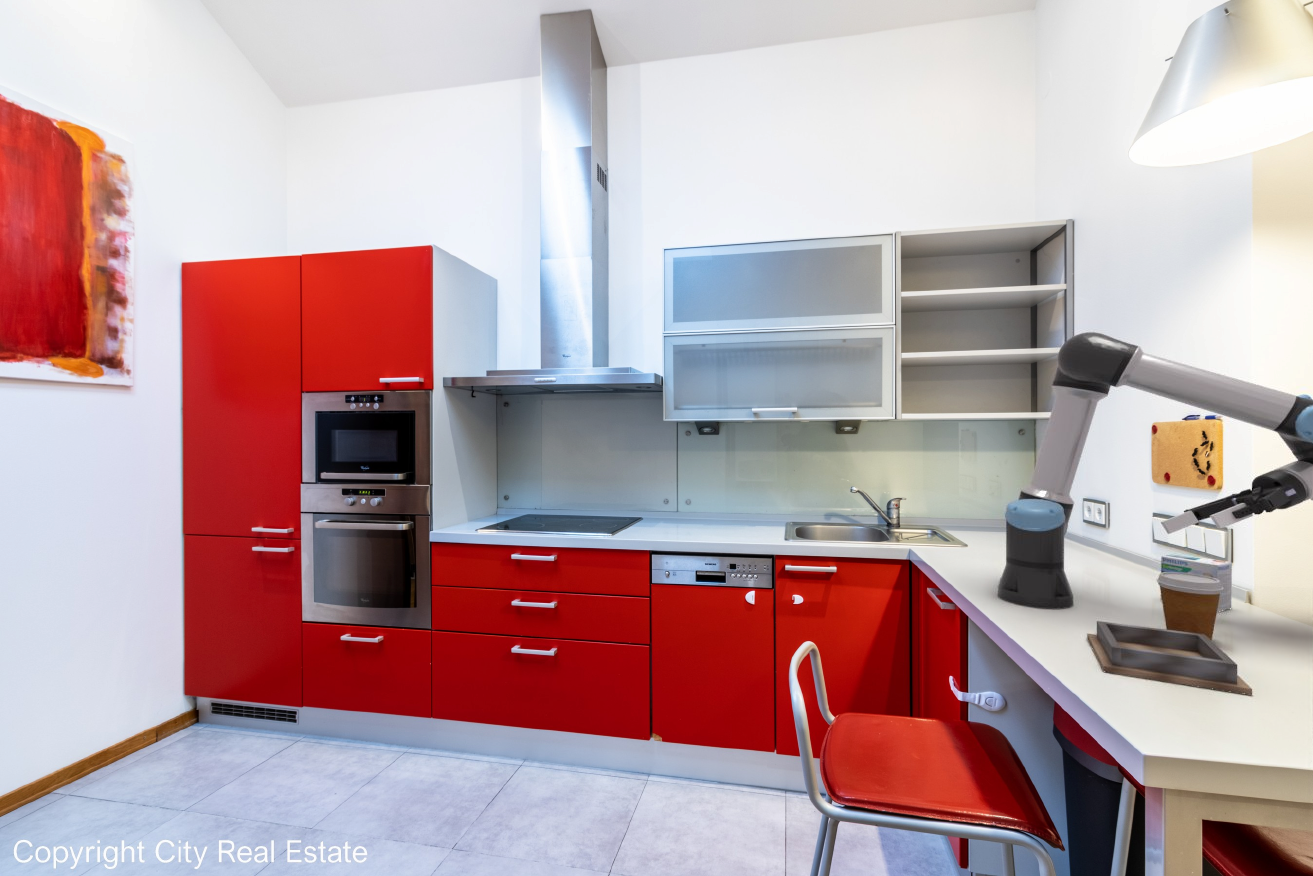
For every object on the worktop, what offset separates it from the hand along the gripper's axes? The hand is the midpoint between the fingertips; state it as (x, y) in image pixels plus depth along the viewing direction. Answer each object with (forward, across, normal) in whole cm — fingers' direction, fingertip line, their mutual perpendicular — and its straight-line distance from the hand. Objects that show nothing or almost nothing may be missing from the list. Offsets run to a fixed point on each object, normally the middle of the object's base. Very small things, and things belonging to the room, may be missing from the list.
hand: (1188, 525), depth 119 cm
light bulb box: (-5, +21, -20) cm, 29 cm away
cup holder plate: (+28, -17, -16) cm, 37 cm away
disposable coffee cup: (+14, -3, -18) cm, 23 cm away
